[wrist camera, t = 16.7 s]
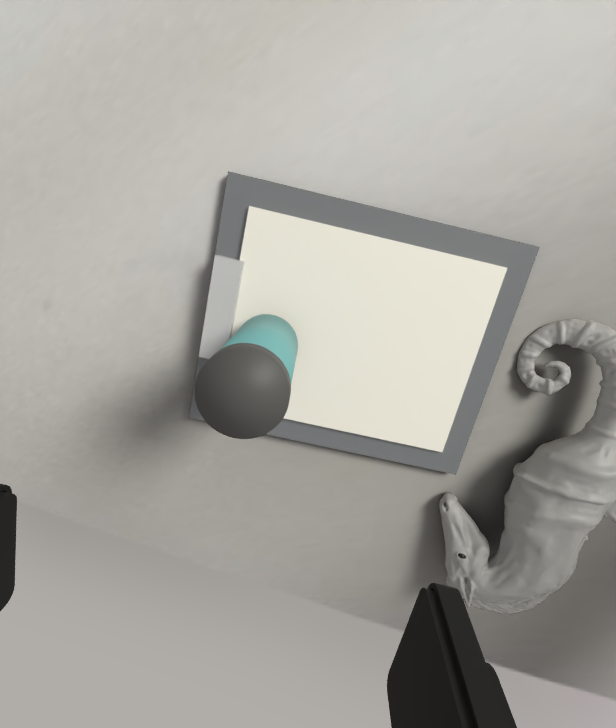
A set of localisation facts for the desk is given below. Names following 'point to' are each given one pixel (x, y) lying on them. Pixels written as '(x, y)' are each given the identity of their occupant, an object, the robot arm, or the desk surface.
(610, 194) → the desk surface
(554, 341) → the seahorse
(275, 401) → the marker
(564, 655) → the desk surface
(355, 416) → the clipboard
